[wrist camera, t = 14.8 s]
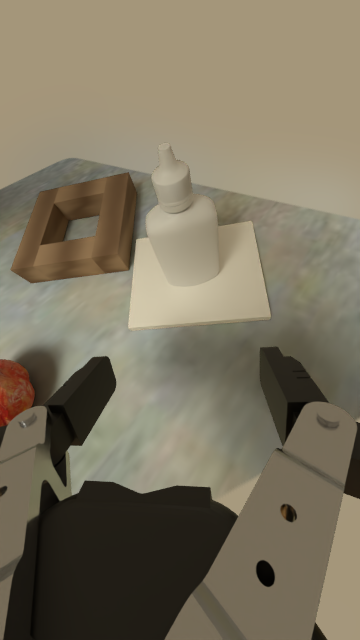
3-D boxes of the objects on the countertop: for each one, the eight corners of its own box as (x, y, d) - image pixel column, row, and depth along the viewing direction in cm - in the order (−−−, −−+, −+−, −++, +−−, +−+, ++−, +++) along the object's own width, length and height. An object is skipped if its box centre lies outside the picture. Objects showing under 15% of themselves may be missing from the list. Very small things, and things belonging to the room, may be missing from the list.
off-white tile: (131, 330, 22) (128, 328, 21) (138, 243, 27) (136, 239, 26) (269, 319, 20) (271, 316, 19) (251, 226, 24) (251, 220, 23)
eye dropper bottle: (176, 253, 24) (137, 124, 13) (223, 261, 22) (224, 121, 11) (162, 284, 22) (105, 170, 12) (211, 296, 21) (198, 175, 10)
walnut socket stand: (31, 283, 28) (10, 269, 25) (54, 209, 33) (39, 191, 30) (128, 270, 25) (117, 253, 22) (137, 193, 31) (128, 172, 28)
